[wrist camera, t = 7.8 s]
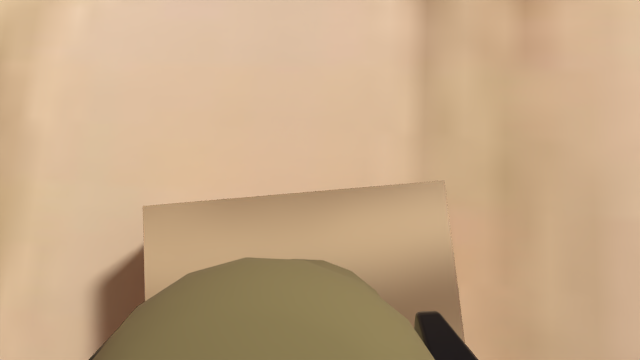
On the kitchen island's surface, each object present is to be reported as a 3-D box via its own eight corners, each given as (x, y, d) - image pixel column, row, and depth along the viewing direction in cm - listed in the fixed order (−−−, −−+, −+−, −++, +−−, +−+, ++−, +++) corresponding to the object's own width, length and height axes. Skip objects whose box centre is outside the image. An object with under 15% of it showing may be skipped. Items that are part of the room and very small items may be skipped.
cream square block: (455, 466, 20) (486, 511, 16) (186, 487, 20) (150, 538, 16) (424, 198, 22) (444, 180, 18) (176, 219, 22) (142, 205, 18)
